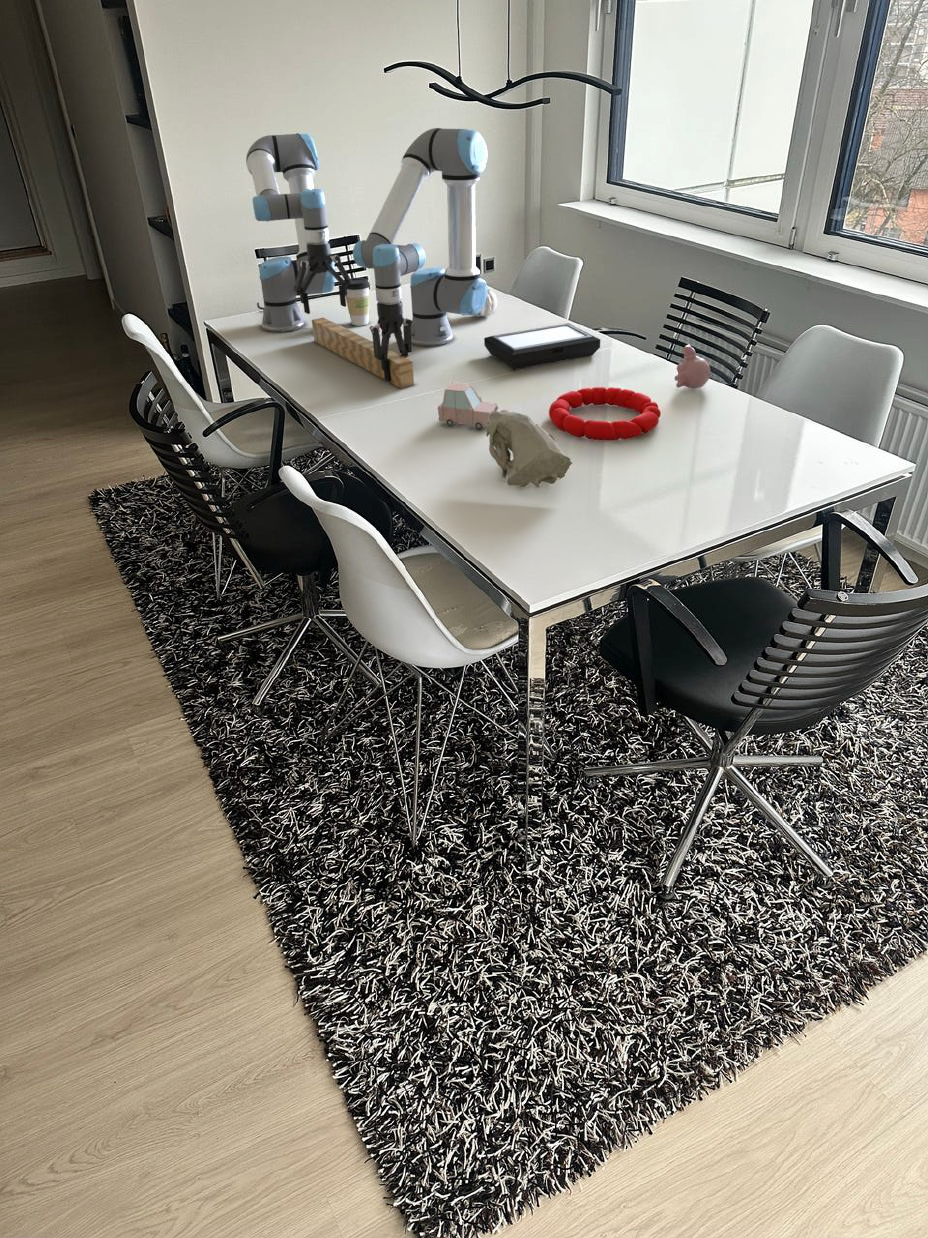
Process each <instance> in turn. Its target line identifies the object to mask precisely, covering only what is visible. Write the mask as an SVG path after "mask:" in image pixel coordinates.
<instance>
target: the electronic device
mask: <svg viewBox="0 0 928 1238" xmlns="http://www.w3.org/2000/svg"><path fill="white" fill-rule="evenodd" d="M483 345H484V347H485V349H486V350H487V351H488V352H489V354H490V355H491V356H492V357H494V358H495V359H497V360H498V361H500V362H502V363H503V364H505V365H507V366H508V367H510V368H511V369H512V370H514V371H515V370H518V369H524V368H530V367H536V366H540V365H541V366H542V365H547V364H553V363H558V362H564V361H569V360H574V359H580V358H581V359H582V358H585V357H586V358H587V357H593V356H594V354H596V353H597V351H598V350H600V348H601V339H600V338H598V337H597V336H595V335H593V334H590V333H589V332H587V331H585V330H583V329H581V328H580V327H577V326H575V325H573V324H571V323H568V322H567V323H561V324H560V323H559V324H555V325H548V326H541V327H537V328H530V329H524V330H520V331H513V332H507V333H500V334H495V335H490V336H486V337H484V341H483Z"/></svg>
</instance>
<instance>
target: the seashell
mask: <svg viewBox="0 0 928 1238" xmlns="http://www.w3.org/2000/svg"><path fill="white" fill-rule="evenodd" d="M497 305H498V299H497V297H496V294H495V292H493V291H492V290H491V289H488V288H487V298H486V301H485V304H484V306H483V308H482V309H481V311H480V312H479V313H478V314H476V315H473V316H472V317H476V318H477V317H489V316H490V315H492V313H493V312H494V311H495V310H496V308H497Z"/></svg>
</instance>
